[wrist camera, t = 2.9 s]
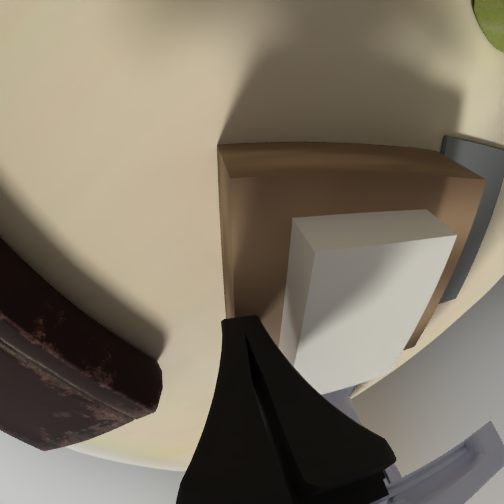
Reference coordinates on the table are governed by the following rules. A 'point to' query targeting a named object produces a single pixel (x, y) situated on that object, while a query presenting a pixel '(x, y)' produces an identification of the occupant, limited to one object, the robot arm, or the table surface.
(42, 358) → the diary
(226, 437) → the robot arm
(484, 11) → the plant pot
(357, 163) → the brown shallow square box
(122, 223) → the table surface
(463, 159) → the mat
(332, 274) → the off-white rectangular block
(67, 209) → the table surface
